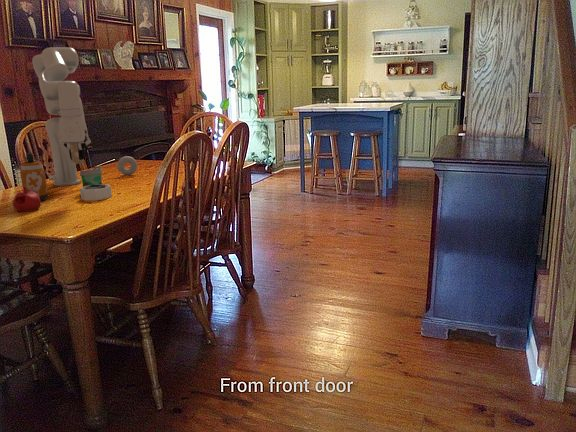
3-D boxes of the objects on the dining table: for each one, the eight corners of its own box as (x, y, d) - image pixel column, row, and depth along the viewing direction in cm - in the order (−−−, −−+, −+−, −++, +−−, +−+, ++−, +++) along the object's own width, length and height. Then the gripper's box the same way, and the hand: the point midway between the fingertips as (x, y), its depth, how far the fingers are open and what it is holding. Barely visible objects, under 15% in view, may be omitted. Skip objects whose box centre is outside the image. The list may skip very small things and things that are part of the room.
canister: (25, 203, 202) (16, 154, 196) (25, 198, 211) (16, 151, 206) (49, 200, 206) (41, 152, 200) (48, 195, 215) (40, 149, 210)
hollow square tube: (86, 197, 206) (85, 187, 205) (93, 194, 211) (92, 184, 210) (99, 197, 205) (98, 187, 204) (105, 194, 211) (104, 184, 210)
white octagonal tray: (77, 200, 204) (75, 190, 202) (90, 194, 215) (89, 184, 213) (103, 200, 202) (101, 189, 201) (115, 194, 213) (114, 184, 212)
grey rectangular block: (72, 163, 199) (69, 141, 197) (76, 162, 202) (73, 140, 200) (79, 163, 199) (76, 141, 197) (83, 162, 202) (80, 140, 199)
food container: (95, 193, 216) (92, 171, 214) (82, 193, 217) (79, 171, 215) (110, 187, 228) (107, 166, 225) (98, 187, 229) (95, 166, 226)
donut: (138, 173, 261) (136, 155, 259) (138, 174, 258) (136, 155, 256) (118, 175, 258) (116, 156, 256) (118, 176, 255) (116, 157, 252)
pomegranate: (35, 205, 198) (31, 182, 196) (46, 208, 192) (43, 185, 189) (9, 210, 191) (4, 187, 188) (20, 214, 185) (16, 190, 182)
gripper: (46, 114, 193) (53, 161, 198) (85, 113, 191) (92, 160, 196) (57, 113, 200) (64, 158, 205) (95, 112, 198) (101, 157, 203)
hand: (77, 159), depth 200 cm, fingers closed on grey rectangular block, 3 cm apart
